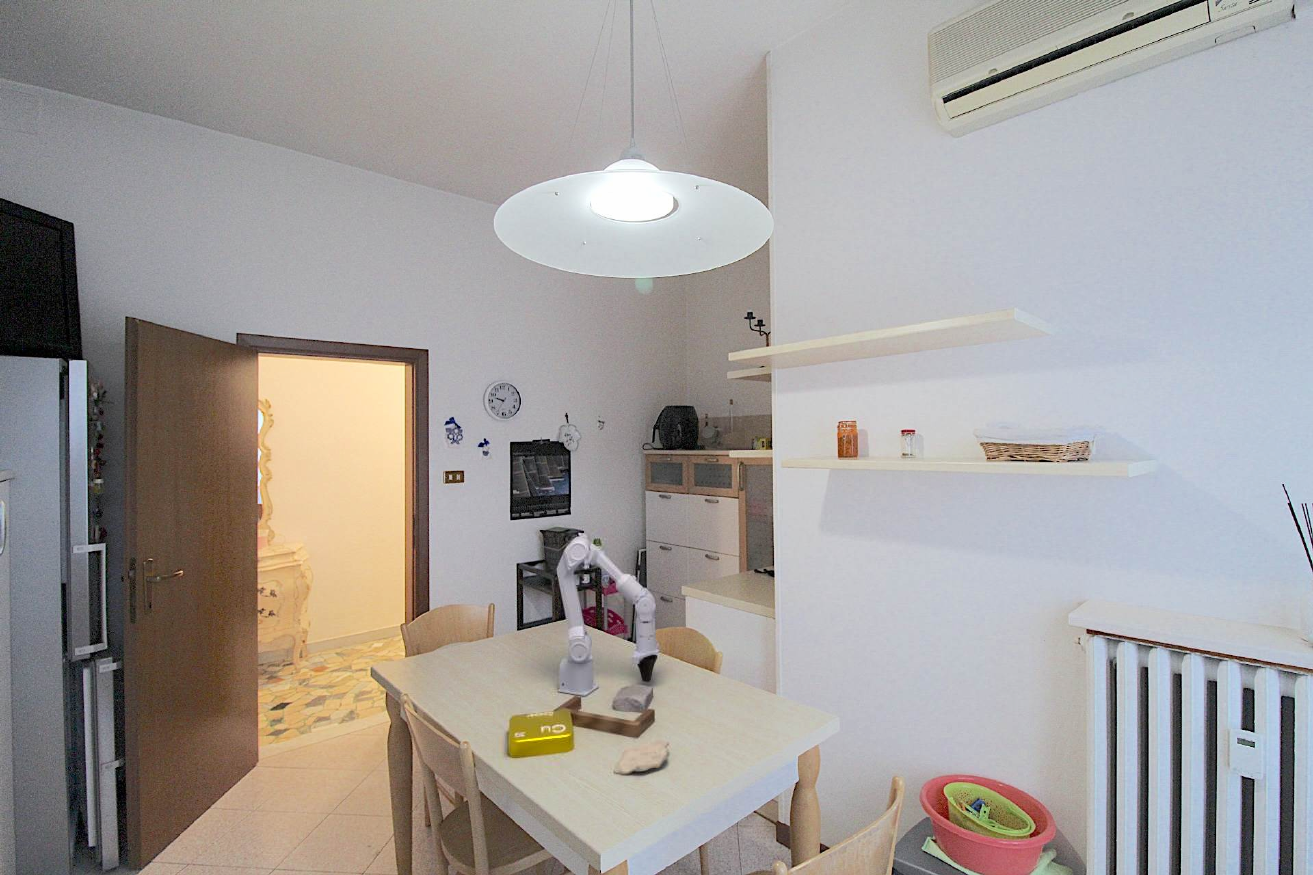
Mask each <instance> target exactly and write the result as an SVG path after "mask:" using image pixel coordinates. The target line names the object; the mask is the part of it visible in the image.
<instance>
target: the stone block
mask: <svg viewBox="0 0 1313 875" xmlns="http://www.w3.org/2000/svg"><path fill="white" fill-rule="evenodd" d="M653 697H654V687H653V686H647V685H642V684H631V685H626V686H624V687H621V688H620V690H618V691H617V693H616V694H615V696H613V699H612V706H613V709H614V710H615V712H622V713H643V712H644V711H645V710H647V709H648V706H649V705H650V703H651V701H652V700H653Z"/></svg>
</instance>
